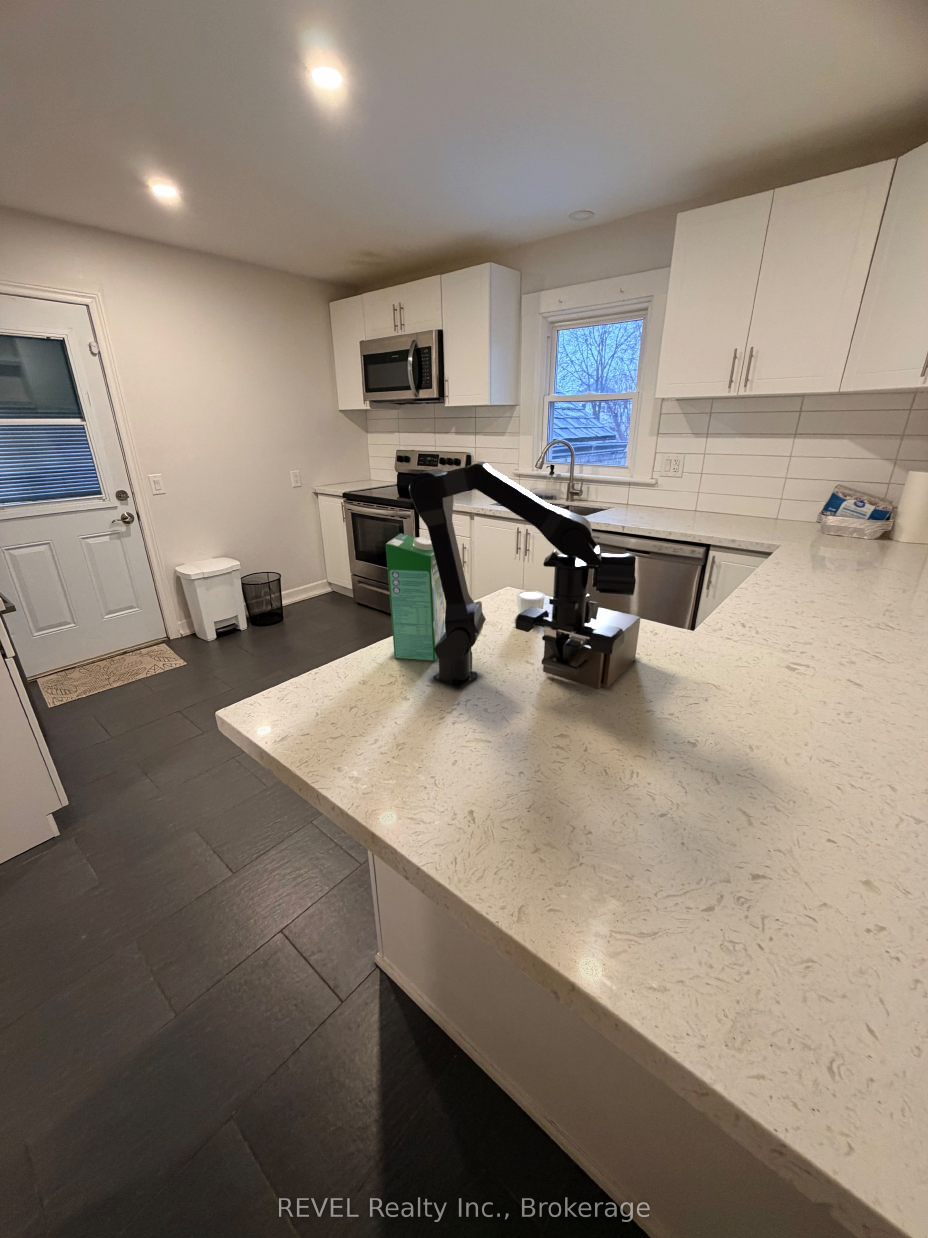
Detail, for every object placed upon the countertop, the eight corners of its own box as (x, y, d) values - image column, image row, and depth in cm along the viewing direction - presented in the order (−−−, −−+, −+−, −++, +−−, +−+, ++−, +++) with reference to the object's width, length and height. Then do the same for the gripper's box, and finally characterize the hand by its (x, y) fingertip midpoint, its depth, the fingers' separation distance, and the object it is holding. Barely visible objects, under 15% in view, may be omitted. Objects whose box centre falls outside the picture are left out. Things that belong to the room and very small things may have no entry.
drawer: (586, 701, 87) (589, 661, 84) (529, 682, 93) (531, 644, 90) (625, 661, 100) (629, 626, 97) (574, 647, 107) (576, 613, 104)
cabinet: (606, 688, 92) (612, 641, 89) (547, 669, 100) (549, 625, 96) (635, 659, 103) (640, 616, 99) (579, 643, 110) (582, 603, 106)
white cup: (542, 616, 125) (544, 590, 123) (544, 627, 119) (545, 599, 116) (515, 615, 126) (516, 589, 123) (515, 626, 120) (516, 599, 117)
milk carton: (435, 661, 104) (430, 544, 94) (394, 657, 105) (385, 542, 96) (445, 643, 112) (441, 533, 102) (407, 640, 113) (399, 532, 104)
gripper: (640, 588, 85) (630, 668, 91) (545, 570, 96) (541, 643, 102) (615, 607, 77) (606, 694, 83) (514, 585, 88) (512, 663, 94)
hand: (564, 671), depth 91 cm, fingers closed, pressing on drawer
